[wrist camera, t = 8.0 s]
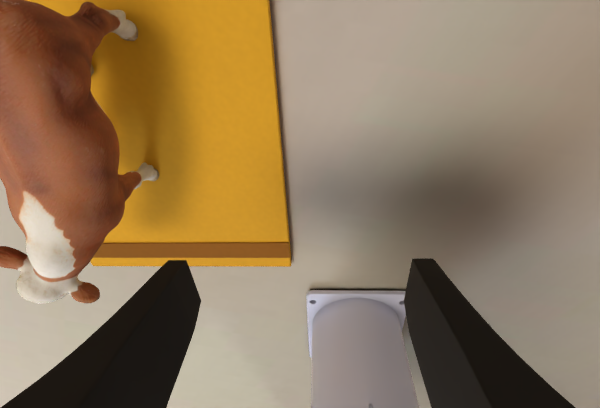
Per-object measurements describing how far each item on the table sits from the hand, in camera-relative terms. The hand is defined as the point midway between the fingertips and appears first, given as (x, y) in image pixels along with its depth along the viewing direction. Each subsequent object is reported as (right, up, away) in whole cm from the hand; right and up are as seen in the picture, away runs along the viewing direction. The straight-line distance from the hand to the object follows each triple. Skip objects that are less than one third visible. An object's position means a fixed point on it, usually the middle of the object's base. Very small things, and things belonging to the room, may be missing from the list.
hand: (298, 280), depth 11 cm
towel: (-8, +6, +8) cm, 13 cm away
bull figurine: (-10, +7, +7) cm, 14 cm away
